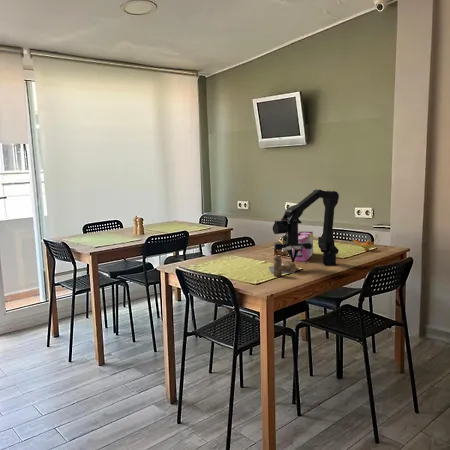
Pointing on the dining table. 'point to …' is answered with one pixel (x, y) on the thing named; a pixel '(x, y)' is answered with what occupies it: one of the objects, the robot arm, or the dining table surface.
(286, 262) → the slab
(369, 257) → the dining table surface
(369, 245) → the magic lamp
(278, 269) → the pepper mill
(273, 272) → the mat
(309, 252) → the gum box
